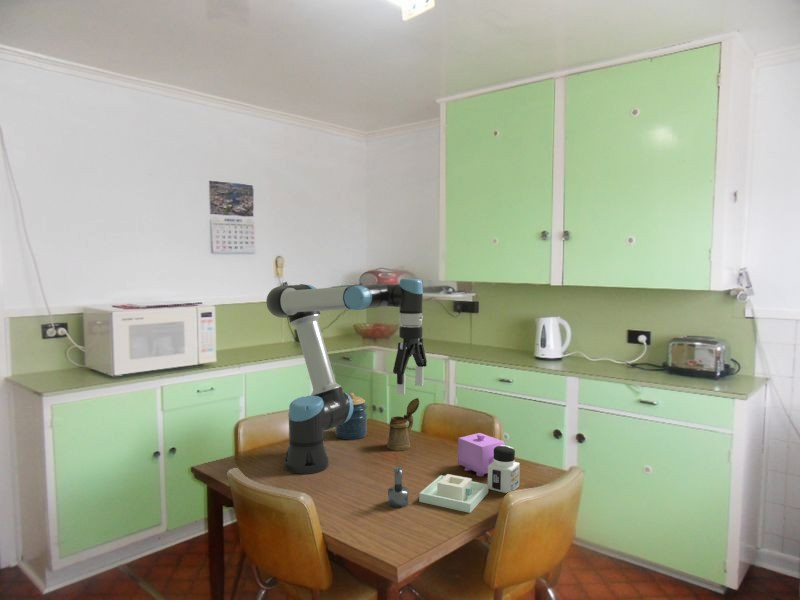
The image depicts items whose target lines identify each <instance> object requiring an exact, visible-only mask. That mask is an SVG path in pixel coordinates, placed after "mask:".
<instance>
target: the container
mask: <svg viewBox="0 0 800 600" xmlns="http://www.w3.org/2000/svg"><path fill="white" fill-rule="evenodd" d="M515 458H516V450H515V449H514V447H512V446H509V445H505V444H504V445H501V446H497V447H495V448H494V461H493V462H492V463H491V464H489V465H488V473H487V484H488V490H491V491H496V492H499V493H504V494H507V492H509V491H512V490H514V491H515V490H517V489H518V487H519V486H520V473H521V472H520V468H521V467H520V465H521V464H520V463H521V462H517V461H515V460H516V459H515Z"/></svg>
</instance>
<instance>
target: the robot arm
mask: <svg viewBox="0 0 800 600" xmlns="http://www.w3.org/2000/svg"><path fill="white" fill-rule="evenodd" d="M423 295H424V291H423V281H422V280H421V279H419V278H401V279H399V283H398V284H393V283H382V282H381V283H380V282H379V283H373V284H364V285H362V284H359V285H358V284H357V285H351V286H338V287H337V286H335V287H321V288H317V287H315V286H314V285H311V284H305V283H304V284H303V283H300V284H292V285H291V284H290V285H280V286H276V287H274V288H272V289H271V290H270V291H269V292H268V294H267V295H266V296H267V297H266V301H265V303H266V307H267V310H268V311H269V312H270V313H271V314H272V316H274V317H277V318H283V319H285V318H288V320H289V324H290V325H291V326H293V327H295V330H296V333H297V334H296V335H297V337H298V340H299V345H300V347H301V350H302V354H303V358H304V361H305V365H306V369H307V372H308V375H309V379H310V382H311V383H310V384H311V386H312V389H313V390H312V392H311V394H310V395H306V396H300V397H298V398H295V399H293V400H292V401H291V402H290V404H289V409H288V436H289V437H288V443H289V444H288V448H287V451H286V455H285V458H284V461H283V463H284V465H283V466H284V467H283V468H284V470H286V471H287V472H289V473H291V474H300V475H306V474H307V475H308V474H309V475H310V474H313V473H314V474H315V473H319V472H322V471H324V470H326V469H327V468H328V467H329V457H328V454H327V450H326V447H325V445H324V432H325V431H328V430H331V429H333V428H336V426H340V425H342V424H343V423H345V422H347V421H348V420H349V419H350V418H351V415H352V413H353V401H352V399H351V397H350V396H349V395H348V393H347V392H345V391H344V390H343V387H342V385H341V384H339V383H337V381H336V377H335V375H334V370H333V368H332V364H331V360H330V357H329V353H328V351H327V347H326V343H325V340H324V336H323V333H322V330H321V326H320V323H319V320H320V318H321V316H322V315H321V312H323V311H326V312H328V311H345V310H354V311H360V310H361V311H362V310H367V309H374V308H376V309H377V308H383V307H389V308H390V307H392V308H393V307H394V308H399V321H398V322H399V325H400V326H399V330H398V331H399V338H401V339H403V340H402V342H398V343H397V351H396V356H395V361H394V364H393V370H392V372H393V374H396V394H397V395H406V373H405V372H406V369H407V366H408V362H409V359H410V358H411V357H413V360H414V362H415V365H416V366H414V367H415V369H414V370H415V371H414V372H415V373H414V374H415V375H414V376H415V377H414V378H415V380H414V381H415V382H414V384H415V386H416V387H417V386H418V387H423V386H424V367H425V368H426V367H427V357H426V352H425V346H424V338H423V327H422V325H423V319H424V316H423Z"/></svg>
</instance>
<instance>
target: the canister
mask: <svg viewBox="0 0 800 600" xmlns="http://www.w3.org/2000/svg"><path fill="white" fill-rule="evenodd" d="M347 395H349V396H350V397H351V399H352V401H353V413H352V415H351V418H350V419H349V420H348V421H347V422H345V423H343V424H342V425H340V426H336V427H335V429H334V433H335V437H337V438H338V439H342V440H359V439H363V438H365V437H366V436H367V433H368V425H367V423H368V421H367V420H368V419H367V418H368V414H367V408H368V406H367V404H365V403H366V400H365V398H362V397H361V396H357V395H355V393H354V392H349V393H347Z"/></svg>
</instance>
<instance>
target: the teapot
mask: <svg viewBox="0 0 800 600" xmlns="http://www.w3.org/2000/svg"><path fill="white" fill-rule="evenodd" d="M501 445H505V441H503V440H501V439H498V438H496V437H492V436H490V435H487V434H484V433H481V432H478V433H477V432H476V433H473V434H469V435H466V436H462V437H461V436H460V437H458V438H457V464H458V465H460V466H461V467H464V468H463V470H464V472H465V471H466V472H469V471H470V472H471V471H472V472H475V473H476V475H475V476H477V477H482V478H483V477H484V476H485V475H486V474H488V465H489V464H491V463H492V462H493V461H494V448H495V447H497V446H501Z"/></svg>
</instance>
